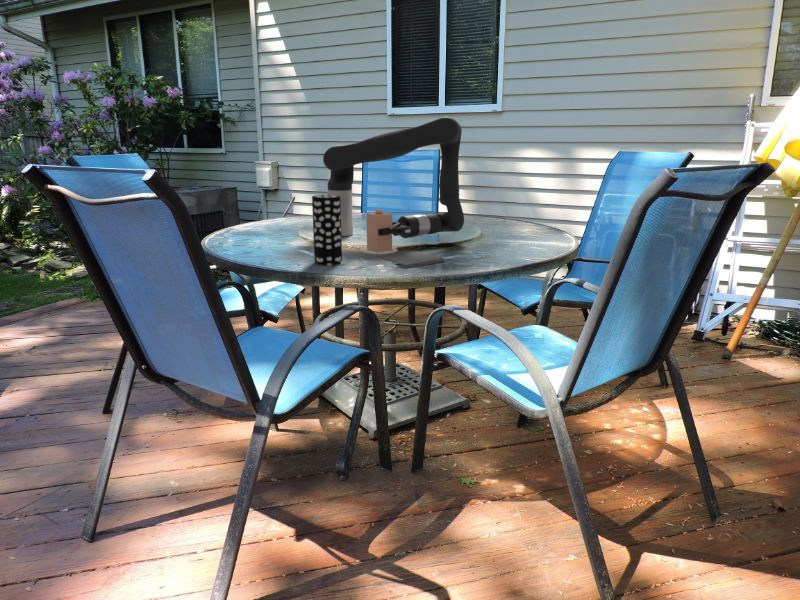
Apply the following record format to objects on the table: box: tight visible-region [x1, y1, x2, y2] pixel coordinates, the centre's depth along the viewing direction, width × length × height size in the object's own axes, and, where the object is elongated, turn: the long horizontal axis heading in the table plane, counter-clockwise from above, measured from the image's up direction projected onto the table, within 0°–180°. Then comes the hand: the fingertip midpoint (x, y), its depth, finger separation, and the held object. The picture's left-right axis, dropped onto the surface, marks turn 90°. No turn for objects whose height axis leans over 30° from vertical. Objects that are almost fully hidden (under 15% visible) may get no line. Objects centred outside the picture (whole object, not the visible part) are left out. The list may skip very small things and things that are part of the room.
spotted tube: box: [311, 194, 343, 267], centre depth 168 cm, size 8×8×20 cm
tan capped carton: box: [365, 208, 393, 253], centre depth 184 cm, size 6×6×13 cm
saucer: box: [361, 247, 399, 255], centre depth 185 cm, size 12×12×4 cm
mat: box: [376, 250, 445, 269], centre depth 174 cm, size 15×15×1 cm
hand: (373, 230), depth 182 cm, fingers closed on tan capped carton, 6 cm apart
